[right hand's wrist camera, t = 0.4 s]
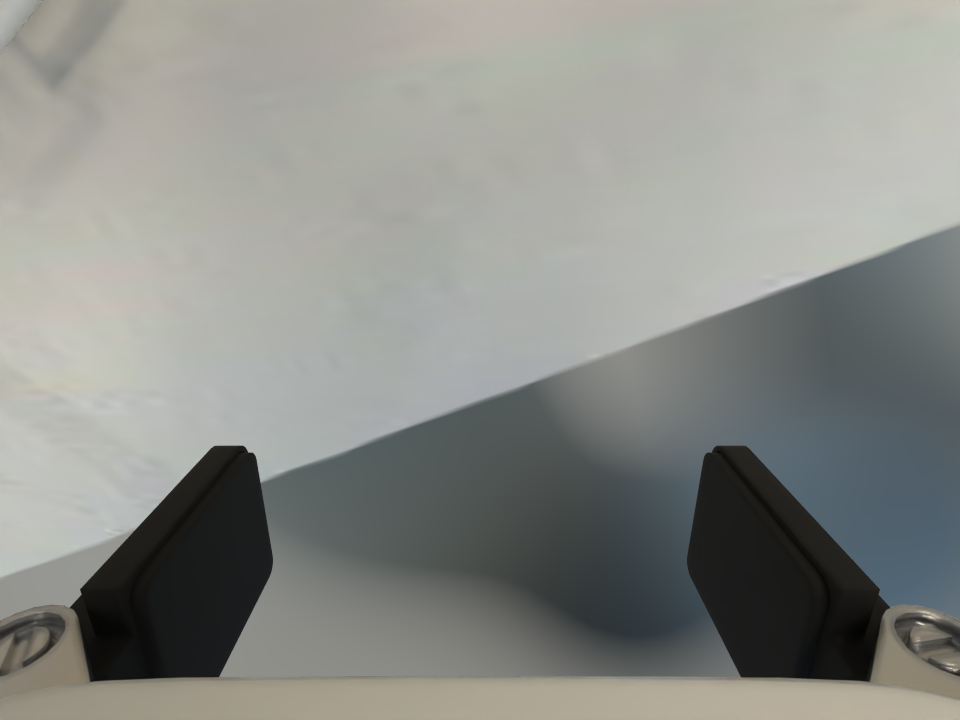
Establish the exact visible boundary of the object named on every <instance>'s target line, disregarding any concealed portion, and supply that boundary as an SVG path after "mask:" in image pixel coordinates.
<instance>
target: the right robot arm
mask: <svg viewBox="0 0 960 720" xmlns="http://www.w3.org/2000/svg"><path fill="white" fill-rule="evenodd" d="M272 565H273V556H272V550H271V544H270V538H269V532H268V526H267V520H266V514H265V508H264V502H263V496H262V490H261V484H260V478H259V472H258V466H257V460H256V456H255V455H254V454H253V453H248V451H247V449H246V447H244V446H214V447H212V448H211V449H210V450H209V451H208V452H207V453H206V454H205V456H204V457H203V458H202V459H201V460H200V461H199V462H198V463H197V464H196V465H195V466H194V467H193V468H192V470H191V471H190V472H189V473H188V474H187V475H186V476H185V477H184V478H183V479H182V480H181V481H180V482H179V484H178V485H177V486H176V487H175V488H174V489H173V490H172V491H171V492H170V493H169V494H168V495H167V496H166V498H165V499H164V500H163V501H162V502H161V503H160V504H159V505H158V506H157V507H156V508H155V509H154V510H153V512H152V513H151V514H150V515H149V516H148V517H147V518H146V519H145V520H144V521H143V522H142V523H141V524H140V526H139V527H138V528H137V529H136V530H135V531H134V532H133V533H132V534H131V535H130V536H129V537H128V539H127V540H126V541H125V542H124V543H123V544H122V545H121V546H120V547H119V548H118V549H117V550H116V551H115V552H114V554H113V555H112V556H111V557H110V558H109V559H108V560H107V561H106V562H105V563H104V564H103V565H102V567H101V568H100V569H99V570H98V571H97V572H96V573H95V574H94V575H93V576H92V577H91V578H90V579H89V580H88V582H87V583H86V584H85V585H84V586H83V587H82V588H81V589H80V591H81V593H82V595H81V596H80V597H79V598H78V599H77V600H76V601H75V603H74V604H73V605H72V606H71V607H70V608H68V607H66V606H62V605H46V606H39V607H34V608H31V609H28V610H24V611H21V612H18V613H15V614H13V615H11V616H9V617H7V618H5V619H3V620H1V621H0V720H960V621H959V620H957V619H955V618H953V617H951V616H949V615H947V614H945V613H942V612H939V611H936V610H932V609H929V608H926V607H920V606H914V605H898V606H894V607H892V608H890V607H889V606H888V605H887V604H886V603H885V601H884V600H883V599H882V598H881V597H880V596H879V595H878V594H879V591H880V589H879V588H878V587H877V586H876V585H875V584H874V583H873V582H872V581H871V579H870V578H869V577H868V576H867V575H866V574H865V573H864V572H863V571H862V570H861V569H860V568H859V567H858V565H857V564H856V563H855V562H854V561H853V560H852V559H851V558H850V557H849V556H848V555H847V554H846V553H845V551H844V550H843V549H842V548H841V547H840V546H839V545H838V544H837V543H836V542H835V541H834V540H833V539H832V537H831V536H830V535H829V534H828V533H827V532H826V531H825V530H824V529H823V528H822V527H821V526H820V524H819V523H818V522H817V521H816V520H815V519H814V518H813V517H812V516H811V515H810V514H809V513H808V512H807V510H806V509H805V508H804V507H803V506H802V505H801V504H800V503H799V502H798V501H797V500H796V499H795V498H794V496H793V495H792V494H791V493H790V492H789V491H788V490H787V489H786V488H785V487H784V486H783V485H782V484H781V482H780V481H779V480H778V479H777V478H776V477H775V476H774V475H773V474H772V473H771V472H770V471H769V470H768V469H767V467H766V466H765V465H764V464H763V463H762V462H761V461H760V460H759V459H758V458H757V457H756V456H755V455H754V453H753V452H752V451H751V450H750V449H749V448H748V447H746V446H716V447H715V448H714V449H713V451H712V453H707V454H706V455H705V456H704V460H703V466H702V472H701V478H700V484H699V490H698V496H697V502H696V508H695V514H694V520H693V526H692V532H691V538H690V544H689V550H688V556H687V565H688V570H689V574H690V576H691V579H692V581H693V583H694V585H695V587H696V589H697V591H698V593H699V595H700V596H701V599H702V601H703V603H704V604H705V606H706V608H707V610H708V612H709V614H710V616H711V618H712V620H713V622H714V624H715V626H716V628H717V630H718V632H719V634H720V636H721V638H722V640H723V642H724V644H725V646H726V648H727V650H728V652H729V654H730V656H731V658H732V660H733V662H734V664H735V666H736V668H737V670H738V672H739V674H740V676H741V677H603V676H358V677H357V676H356V677H219V676H220V674H221V672H222V670H223V668H224V666H225V664H226V662H227V660H228V658H229V656H230V654H231V652H232V650H233V648H234V646H235V644H236V642H237V640H238V638H239V636H240V634H241V632H242V630H243V628H244V626H245V624H246V622H247V620H248V618H249V616H250V614H251V612H252V610H253V608H254V606H255V604H256V602H257V601H258V598H259V596H260V595H261V593H262V591H263V589H264V586H265V585H266V583H267V581H268V579H269V577H270V574H271V571H272Z"/></svg>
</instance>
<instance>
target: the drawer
mask: <svg viewBox="0 0 960 720" xmlns="http://www.w3.org/2000/svg"><path fill="white" fill-rule="evenodd" d="M41 1H42V0H0V53H1V52H2V51H3V50H4V48H5V47H6V46H7V45H8V43H9V42H10V41H11V39H12V38H13V37H14V36H15V34H16V33H17V32H18V31H19V29H20V28H21V27H22V25H23V24H24V23H25V22H26V20H27V19H28V18H29V17H30V15H31V14H32V13H33V11H34V10H35V9H36V8H37V6H38V5H39V4H40V3H41Z"/></svg>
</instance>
